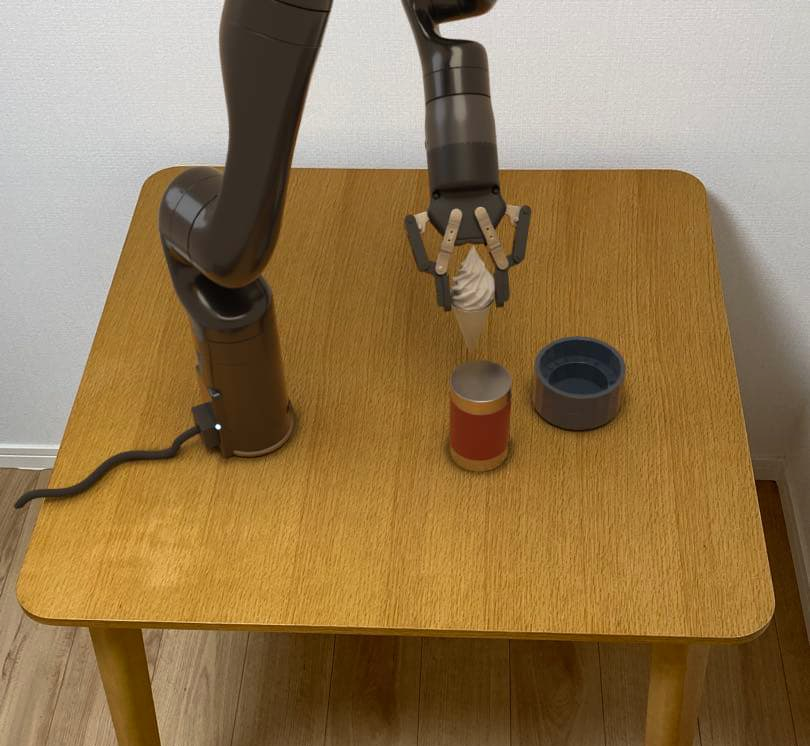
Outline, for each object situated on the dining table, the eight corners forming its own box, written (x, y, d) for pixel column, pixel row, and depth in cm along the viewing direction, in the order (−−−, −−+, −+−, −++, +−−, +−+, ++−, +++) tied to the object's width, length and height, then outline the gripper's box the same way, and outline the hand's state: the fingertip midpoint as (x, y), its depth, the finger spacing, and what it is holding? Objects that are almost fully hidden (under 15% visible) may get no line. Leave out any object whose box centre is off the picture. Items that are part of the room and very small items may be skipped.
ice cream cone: (490, 369, 133) (492, 262, 121) (445, 364, 134) (443, 257, 122) (496, 339, 136) (499, 231, 124) (453, 334, 137) (451, 227, 125)
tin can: (466, 480, 133) (467, 410, 124) (439, 441, 137) (438, 370, 128) (518, 460, 135) (523, 389, 126) (491, 422, 139) (493, 351, 130)
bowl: (559, 443, 136) (563, 409, 132) (516, 387, 142) (518, 352, 138) (637, 414, 139) (643, 380, 134) (591, 360, 145) (595, 325, 140)
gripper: (395, 144, 122) (409, 312, 124) (533, 133, 122) (545, 300, 124) (393, 159, 129) (406, 317, 131) (523, 149, 130) (535, 306, 131)
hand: (474, 308), depth 128 cm, fingers closed on ice cream cone, 5 cm apart
